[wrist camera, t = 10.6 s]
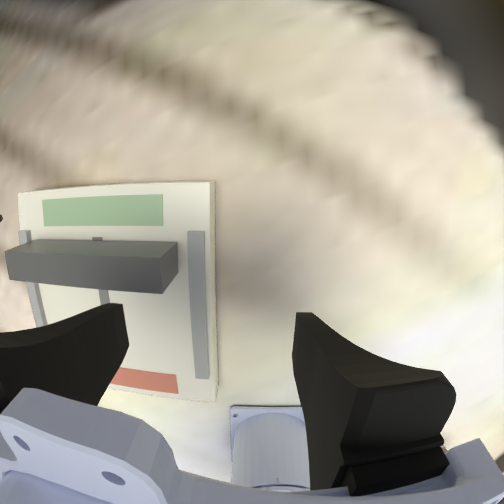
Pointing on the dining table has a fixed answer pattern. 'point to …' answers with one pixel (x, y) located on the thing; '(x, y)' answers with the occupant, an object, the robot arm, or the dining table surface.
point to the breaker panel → (137, 304)
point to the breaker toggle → (96, 264)
